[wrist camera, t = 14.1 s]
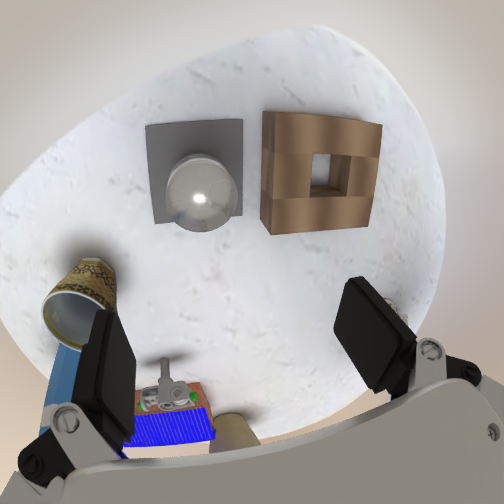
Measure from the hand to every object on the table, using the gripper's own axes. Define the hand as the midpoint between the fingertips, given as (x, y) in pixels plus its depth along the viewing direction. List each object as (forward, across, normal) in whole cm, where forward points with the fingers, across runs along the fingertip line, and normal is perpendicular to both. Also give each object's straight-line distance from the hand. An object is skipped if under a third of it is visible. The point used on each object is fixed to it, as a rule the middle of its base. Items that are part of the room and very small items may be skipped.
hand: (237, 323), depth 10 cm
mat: (+24, 0, -1) cm, 24 cm away
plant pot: (+25, -1, +61) cm, 66 cm away
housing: (+24, -15, -1) cm, 28 cm away
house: (+25, +13, +47) cm, 55 cm away
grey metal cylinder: (+24, 0, -1) cm, 24 cm away
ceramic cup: (+25, +16, +14) cm, 33 cm away
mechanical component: (+25, +9, +32) cm, 41 cm away
